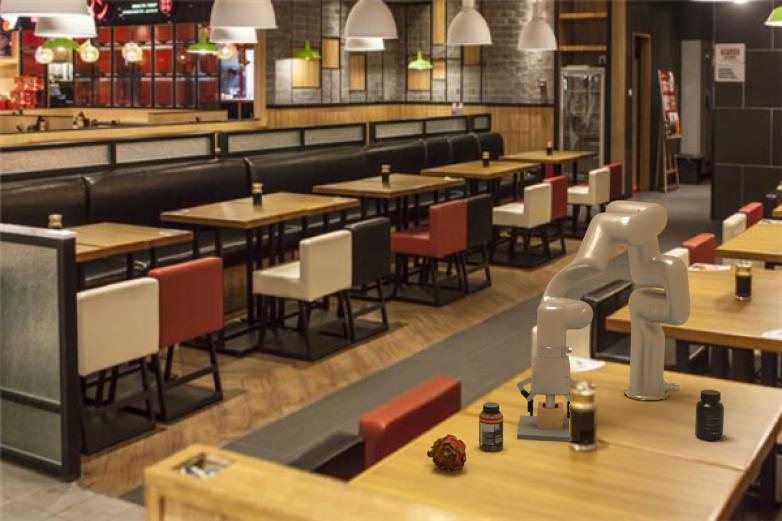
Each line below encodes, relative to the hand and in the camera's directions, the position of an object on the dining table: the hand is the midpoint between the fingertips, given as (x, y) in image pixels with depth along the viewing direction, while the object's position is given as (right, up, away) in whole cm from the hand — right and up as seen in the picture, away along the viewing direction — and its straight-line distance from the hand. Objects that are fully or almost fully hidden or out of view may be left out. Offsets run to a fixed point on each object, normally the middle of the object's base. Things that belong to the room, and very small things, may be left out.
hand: (549, 415), depth 262 cm
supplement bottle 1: (-17, -6, -12) cm, 22 cm away
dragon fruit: (-28, -8, -26) cm, 39 cm away
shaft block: (0, -4, +1) cm, 4 cm away
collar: (0, -3, 0) cm, 3 cm away
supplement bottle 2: (+40, -5, -5) cm, 40 cm away
